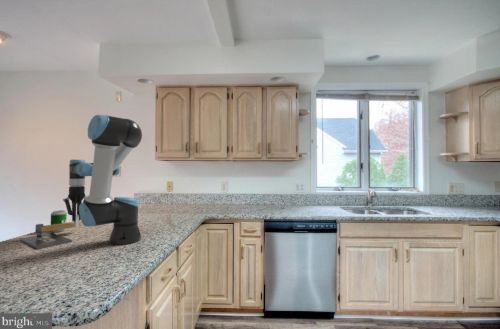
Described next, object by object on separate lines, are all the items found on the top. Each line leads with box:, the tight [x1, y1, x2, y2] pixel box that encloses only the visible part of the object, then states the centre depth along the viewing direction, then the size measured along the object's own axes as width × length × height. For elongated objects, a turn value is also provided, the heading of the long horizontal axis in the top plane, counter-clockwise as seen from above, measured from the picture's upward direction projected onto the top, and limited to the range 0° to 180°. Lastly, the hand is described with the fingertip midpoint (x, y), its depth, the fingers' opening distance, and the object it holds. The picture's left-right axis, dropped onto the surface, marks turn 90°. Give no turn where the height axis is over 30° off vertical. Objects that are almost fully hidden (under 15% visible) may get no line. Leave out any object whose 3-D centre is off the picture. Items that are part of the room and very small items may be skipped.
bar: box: [34, 220, 82, 234], centre depth 138 cm, size 20×3×4 cm, turn 137°
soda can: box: [50, 210, 68, 233], centre depth 147 cm, size 8×8×12 cm
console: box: [19, 232, 73, 250], centre depth 127 cm, size 24×14×3 cm, turn 58°
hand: (76, 226), depth 141 cm, fingers closed
